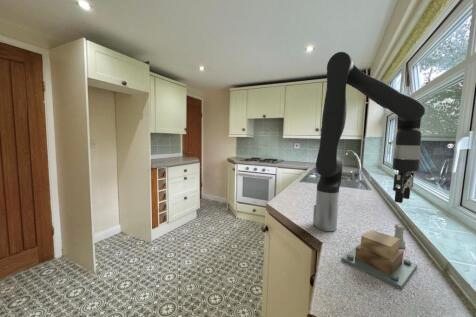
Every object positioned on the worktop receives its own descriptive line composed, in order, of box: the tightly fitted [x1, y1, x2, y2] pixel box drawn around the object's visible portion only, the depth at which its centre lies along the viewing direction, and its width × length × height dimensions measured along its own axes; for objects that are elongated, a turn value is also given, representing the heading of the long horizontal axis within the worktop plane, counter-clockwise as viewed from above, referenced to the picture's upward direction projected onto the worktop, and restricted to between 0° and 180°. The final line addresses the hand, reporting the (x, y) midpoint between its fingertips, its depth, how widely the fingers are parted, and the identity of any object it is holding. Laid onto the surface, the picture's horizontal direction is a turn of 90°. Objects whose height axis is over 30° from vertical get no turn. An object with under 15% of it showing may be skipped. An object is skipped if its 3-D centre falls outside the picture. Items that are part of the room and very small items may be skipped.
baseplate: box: [340, 247, 418, 290], centre depth 65 cm, size 16×16×2 cm
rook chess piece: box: [393, 223, 406, 249], centre depth 77 cm, size 4×4×8 cm
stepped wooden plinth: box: [355, 229, 404, 275], centre depth 65 cm, size 10×10×8 cm
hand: (402, 200), depth 75 cm, fingers open, 8 cm apart
